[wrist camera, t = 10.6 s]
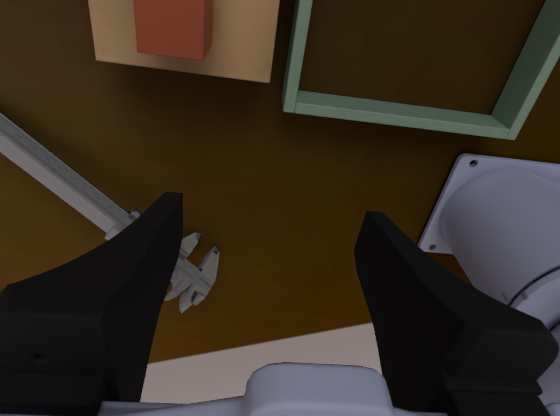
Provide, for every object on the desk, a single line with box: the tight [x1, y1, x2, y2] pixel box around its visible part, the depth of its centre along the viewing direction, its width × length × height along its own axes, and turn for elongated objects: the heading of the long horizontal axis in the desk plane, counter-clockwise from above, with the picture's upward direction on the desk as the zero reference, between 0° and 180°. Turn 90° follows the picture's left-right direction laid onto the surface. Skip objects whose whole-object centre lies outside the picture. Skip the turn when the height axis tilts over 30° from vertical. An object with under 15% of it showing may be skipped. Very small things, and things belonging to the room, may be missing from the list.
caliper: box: [0, 112, 220, 313], centre depth 21 cm, size 20×1×6 cm, turn 46°
